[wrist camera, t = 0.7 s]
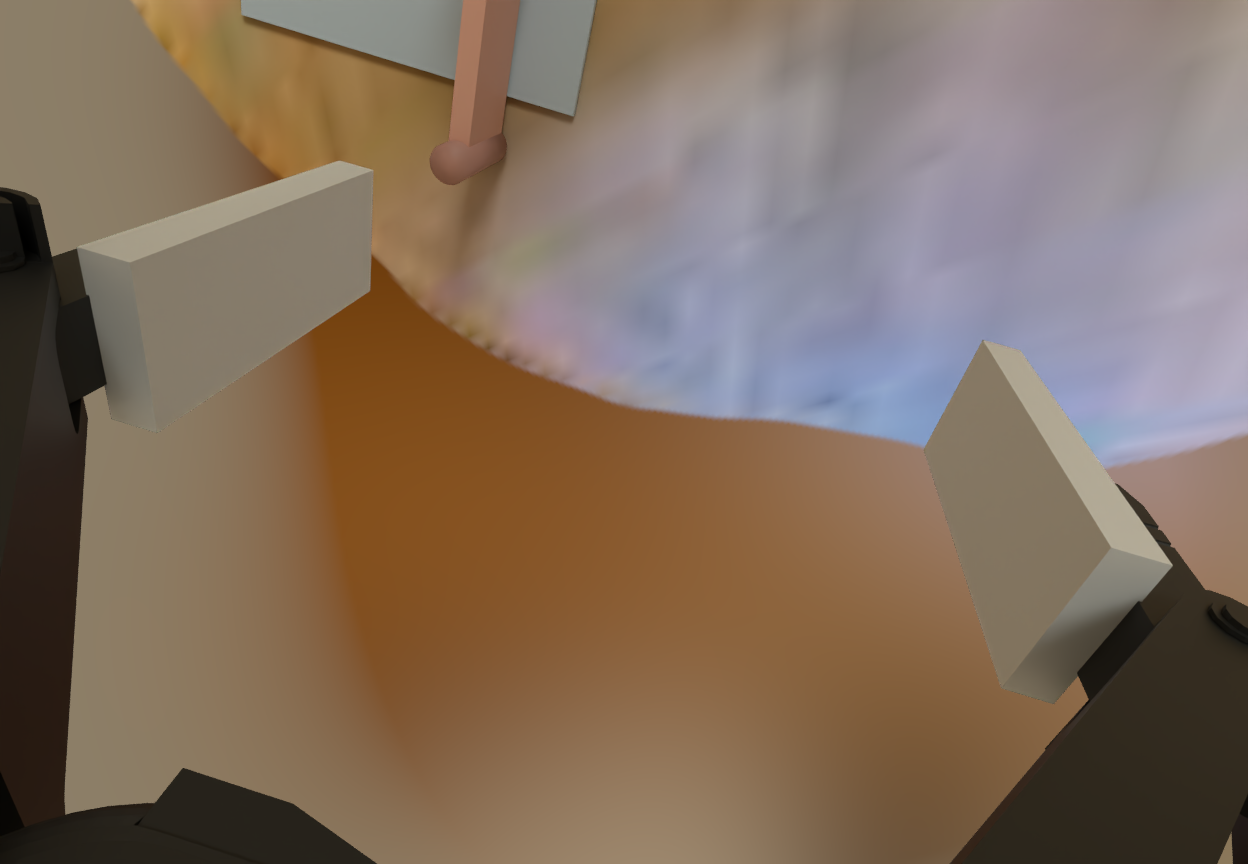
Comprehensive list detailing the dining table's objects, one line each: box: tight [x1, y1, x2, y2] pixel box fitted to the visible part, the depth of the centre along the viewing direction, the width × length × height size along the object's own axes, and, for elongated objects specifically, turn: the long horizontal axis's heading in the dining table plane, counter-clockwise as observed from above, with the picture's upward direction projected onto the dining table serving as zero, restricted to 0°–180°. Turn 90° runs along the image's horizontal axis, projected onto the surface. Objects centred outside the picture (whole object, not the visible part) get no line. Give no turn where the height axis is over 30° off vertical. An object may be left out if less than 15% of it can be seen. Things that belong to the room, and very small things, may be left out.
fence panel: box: [430, 0, 520, 185], centre depth 33 cm, size 10×2×6 cm, turn 166°
